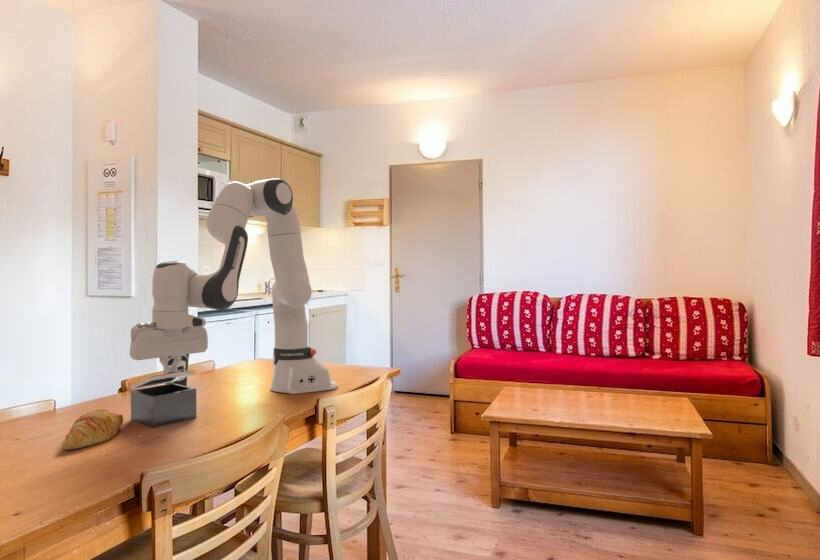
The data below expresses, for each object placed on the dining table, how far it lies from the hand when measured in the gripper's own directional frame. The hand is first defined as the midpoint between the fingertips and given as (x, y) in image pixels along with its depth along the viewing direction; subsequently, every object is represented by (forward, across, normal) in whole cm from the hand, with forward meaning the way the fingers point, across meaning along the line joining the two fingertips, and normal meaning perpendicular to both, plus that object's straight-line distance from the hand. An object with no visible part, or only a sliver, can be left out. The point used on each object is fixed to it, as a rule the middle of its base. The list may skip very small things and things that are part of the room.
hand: (170, 372), depth 142 cm
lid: (+3, 0, +4) cm, 5 cm away
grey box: (+13, 0, +4) cm, 14 cm away
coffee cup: (+13, +24, +40) cm, 48 cm away
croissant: (+14, -19, +1) cm, 23 cm away
